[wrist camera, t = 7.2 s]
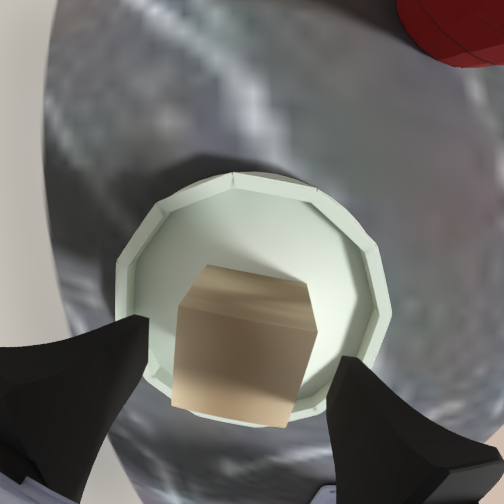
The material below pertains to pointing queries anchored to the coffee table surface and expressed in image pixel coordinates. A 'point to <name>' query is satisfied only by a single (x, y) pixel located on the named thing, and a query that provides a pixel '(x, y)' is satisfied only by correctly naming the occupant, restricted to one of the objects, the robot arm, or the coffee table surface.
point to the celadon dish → (258, 269)
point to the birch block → (242, 346)
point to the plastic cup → (456, 30)
